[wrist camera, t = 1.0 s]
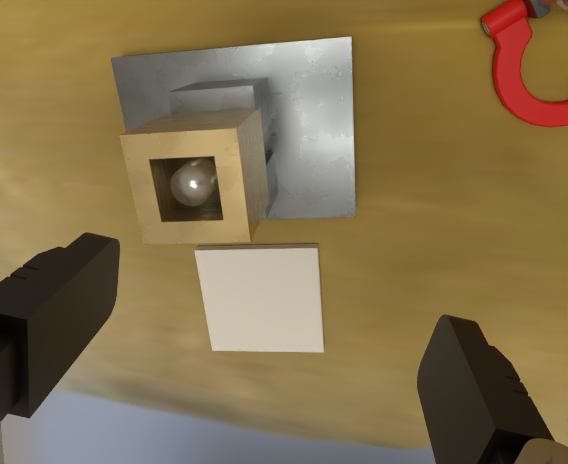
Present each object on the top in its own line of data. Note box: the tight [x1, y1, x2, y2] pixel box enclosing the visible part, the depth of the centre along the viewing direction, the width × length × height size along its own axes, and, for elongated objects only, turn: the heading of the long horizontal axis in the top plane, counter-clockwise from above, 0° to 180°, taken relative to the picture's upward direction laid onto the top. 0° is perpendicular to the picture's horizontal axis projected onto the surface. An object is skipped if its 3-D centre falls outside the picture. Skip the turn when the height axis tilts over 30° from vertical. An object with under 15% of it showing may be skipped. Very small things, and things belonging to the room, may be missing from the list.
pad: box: [195, 244, 324, 352], centre depth 39 cm, size 10×10×1 cm
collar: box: [119, 108, 270, 244], centre depth 25 cm, size 6×6×6 cm
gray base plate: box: [111, 36, 356, 220], centre depth 28 cm, size 16×12×12 cm
